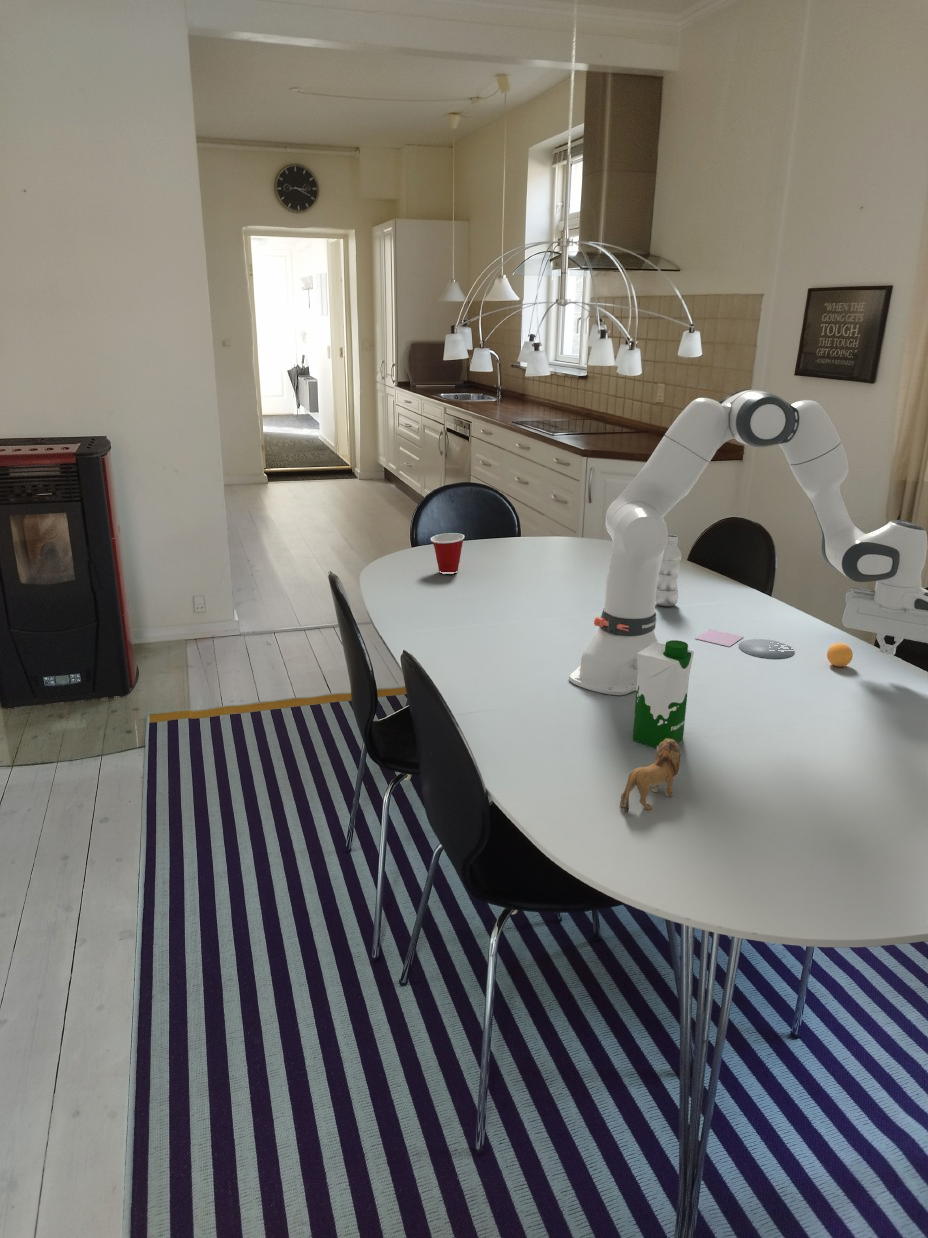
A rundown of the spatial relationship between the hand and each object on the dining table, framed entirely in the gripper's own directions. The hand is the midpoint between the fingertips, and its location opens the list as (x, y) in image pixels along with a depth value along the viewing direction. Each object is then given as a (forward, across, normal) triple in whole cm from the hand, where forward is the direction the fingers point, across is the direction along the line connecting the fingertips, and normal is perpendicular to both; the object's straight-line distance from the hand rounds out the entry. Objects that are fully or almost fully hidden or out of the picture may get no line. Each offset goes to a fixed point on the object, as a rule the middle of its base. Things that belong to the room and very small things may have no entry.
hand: (887, 653), depth 192 cm
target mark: (+5, -27, 0) cm, 27 cm away
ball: (+3, -10, 0) cm, 10 cm away
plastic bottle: (+5, -62, +16) cm, 64 cm away
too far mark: (+5, -39, 0) cm, 39 cm away
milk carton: (+5, -25, -61) cm, 66 cm away
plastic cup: (+4, -131, +2) cm, 131 cm away
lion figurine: (+5, -16, -81) cm, 83 cm away
